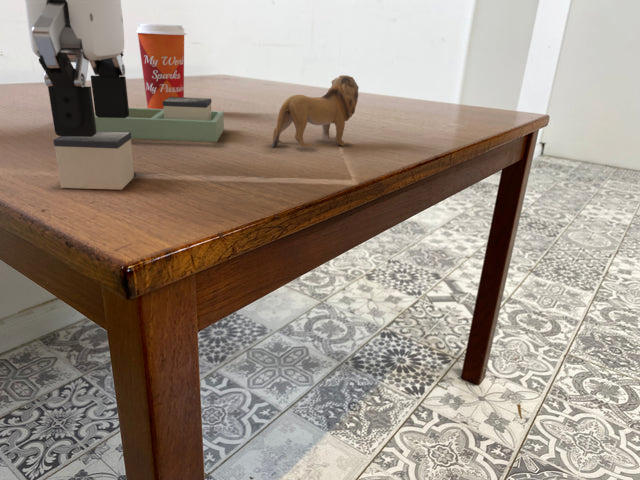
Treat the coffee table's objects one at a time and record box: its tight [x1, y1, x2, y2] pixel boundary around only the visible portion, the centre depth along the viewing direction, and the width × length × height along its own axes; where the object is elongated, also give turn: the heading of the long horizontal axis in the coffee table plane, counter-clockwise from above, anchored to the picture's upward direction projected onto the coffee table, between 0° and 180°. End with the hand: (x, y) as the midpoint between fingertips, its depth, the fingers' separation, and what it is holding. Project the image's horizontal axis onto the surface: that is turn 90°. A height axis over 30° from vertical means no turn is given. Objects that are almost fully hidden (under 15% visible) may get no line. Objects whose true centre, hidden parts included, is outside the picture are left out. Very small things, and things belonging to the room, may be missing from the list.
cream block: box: [53, 131, 135, 191], centre depth 49 cm, size 6×4×4 cm
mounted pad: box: [163, 96, 212, 121], centre depth 70 cm, size 6×4×4 cm
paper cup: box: [135, 22, 188, 109], centre depth 84 cm, size 8×8×14 cm
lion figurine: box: [271, 74, 360, 148], centre depth 69 cm, size 15×5×9 cm, turn 134°
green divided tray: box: [94, 107, 225, 143], centre depth 70 cm, size 8×16×3 cm, turn 93°
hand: (96, 125), depth 48 cm, fingers open, 9 cm apart
